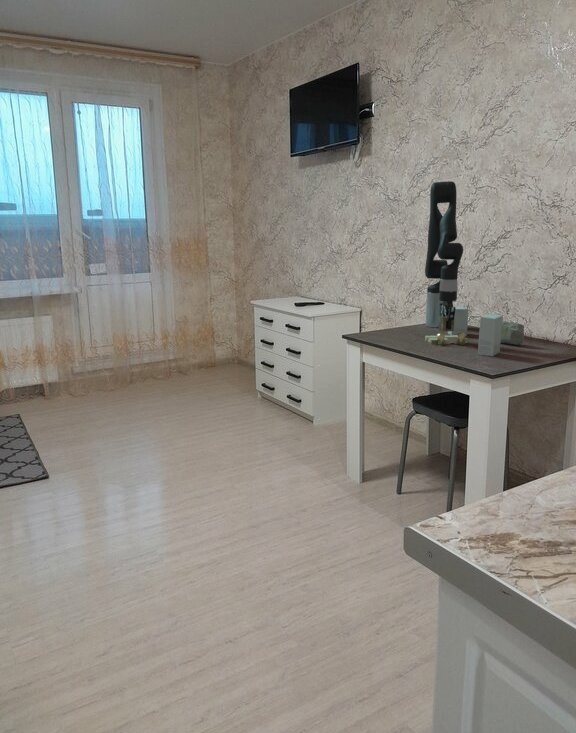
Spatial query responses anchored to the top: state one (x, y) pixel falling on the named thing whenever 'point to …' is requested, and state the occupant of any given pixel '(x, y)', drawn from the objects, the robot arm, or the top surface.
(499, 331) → the skincare box
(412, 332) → the top surface
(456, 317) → the supplement box
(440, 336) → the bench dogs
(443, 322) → the walnut block
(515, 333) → the stone
